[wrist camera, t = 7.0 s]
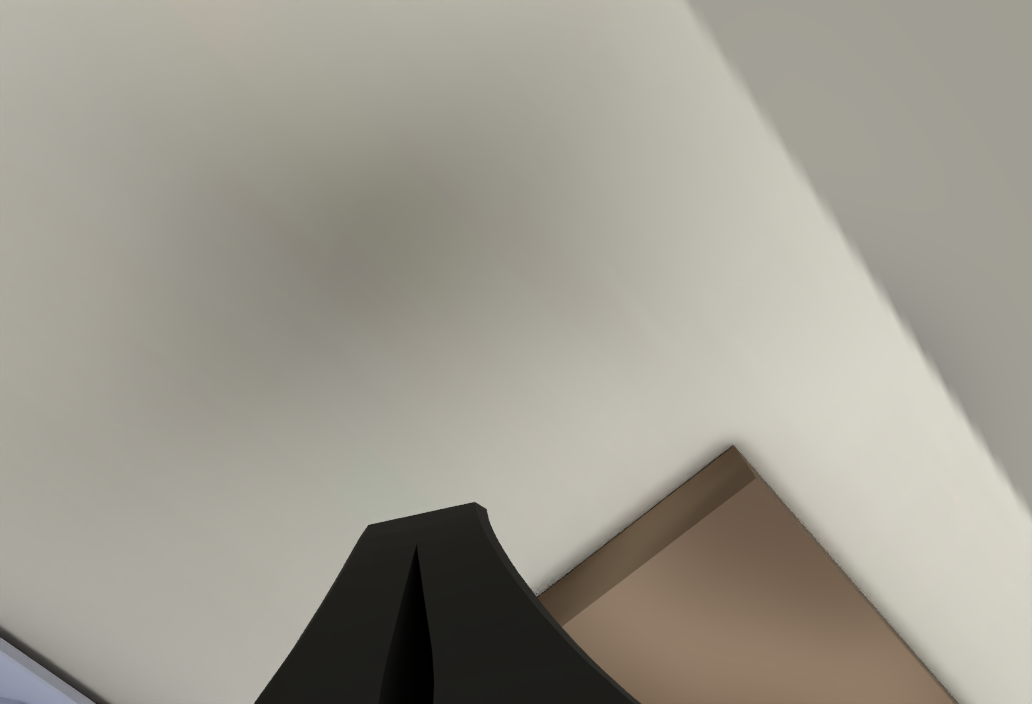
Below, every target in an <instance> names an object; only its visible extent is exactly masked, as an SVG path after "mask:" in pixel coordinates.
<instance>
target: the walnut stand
mask: <svg viewBox="0 0 1032 704" xmlns="http://www.w3.org/2000/svg"><path fill="white" fill-rule="evenodd" d="M538 599H539V601H540V602H541V603H542V605H543V606H544V607H545V608H546V609H547V611H548V612H549V613H550V614H551V615H552V617H553V618H554V619H555V620H556V621H557V622H558V623H559V625H560V626H561V627H562V628H563V629H564V630H565V631H566V632H567V633H568V634H569V636H570V637H571V638H572V639H573V640H574V641H575V642H576V643H577V644H578V645H579V646H580V647H581V648H582V649H583V650H584V652H585V653H586V654H587V655H588V656H589V657H590V658H591V659H592V660H593V661H594V662H595V663H596V664H597V665H599V666H600V667H601V668H602V669H603V670H604V671H605V672H606V673H607V674H608V675H609V676H610V677H611V678H612V679H614V680H615V681H616V682H617V683H618V684H619V685H620V686H621V687H622V688H624V689H625V690H626V691H627V692H628V693H629V694H630V695H631V696H633V697H634V698H635V699H636V700H637V701H639V702H640V703H641V704H958V702H957V701H956V700H955V699H954V698H953V697H952V696H951V694H950V693H949V692H948V691H947V690H946V689H945V688H944V686H943V685H942V684H941V683H940V682H939V681H938V679H937V678H936V677H935V676H934V675H933V674H932V673H931V671H930V670H929V669H928V668H927V667H926V666H925V665H924V663H923V662H922V661H921V660H920V659H919V658H918V656H917V655H916V654H915V653H914V652H913V651H912V650H911V648H910V647H909V646H908V645H907V644H906V643H905V642H904V640H903V639H902V638H901V637H900V636H899V635H898V634H897V632H896V631H895V630H894V629H893V628H892V627H891V625H890V624H889V623H888V622H887V621H886V620H885V619H884V617H883V616H882V615H881V614H880V613H879V612H878V611H877V609H876V608H875V607H874V606H873V605H872V604H871V603H870V601H869V600H868V599H867V598H866V597H865V596H864V594H863V593H862V592H861V591H860V590H859V589H858V588H857V586H856V585H855V584H854V583H853V582H852V581H851V580H850V578H849V577H848V576H847V575H846V574H845V573H844V571H843V570H842V569H841V568H840V567H839V566H838V565H837V563H836V562H835V561H834V560H833V559H832V558H831V557H830V555H829V554H828V553H827V552H826V551H825V550H824V549H823V547H822V546H821V545H820V544H819V543H818V542H817V540H816V539H815V538H814V537H813V536H812V535H811V534H810V532H809V531H808V530H807V529H806V528H805V527H804V526H803V524H802V523H801V522H800V521H799V520H798V519H797V518H796V516H795V515H794V514H793V513H792V512H791V511H790V509H789V508H788V507H787V506H786V505H785V504H784V503H783V501H782V500H781V499H780V498H779V497H778V496H777V495H776V493H775V492H774V491H773V490H772V489H771V488H770V486H769V485H768V484H767V483H766V482H765V481H764V480H763V478H762V477H761V476H760V475H759V474H758V473H757V472H756V470H755V469H754V468H753V467H752V466H751V465H750V464H749V462H748V461H747V460H746V459H745V458H744V457H743V455H742V454H741V453H740V452H739V451H738V450H737V449H736V447H735V446H733V447H731V448H730V449H729V450H727V451H726V452H725V453H724V454H722V455H721V456H720V457H718V458H717V459H716V460H715V461H713V462H712V463H711V464H709V465H708V466H707V467H706V468H704V469H703V470H702V471H700V472H699V473H698V474H697V475H695V476H694V477H693V478H691V479H690V480H689V481H687V482H686V483H685V484H684V485H682V486H681V487H680V488H678V489H677V490H676V491H675V492H673V493H672V494H671V495H669V496H668V497H667V498H666V499H664V500H663V501H662V502H660V503H659V504H658V505H657V506H655V507H654V508H653V509H651V510H650V511H649V512H647V513H646V514H645V515H644V516H642V517H641V518H640V519H638V520H637V521H636V522H635V523H633V524H632V525H631V526H629V527H628V528H627V529H626V530H624V531H623V532H622V533H620V534H619V535H618V536H617V537H615V538H614V539H613V540H611V541H610V542H609V543H608V544H606V545H605V546H604V547H602V548H601V549H600V550H598V551H597V552H596V553H595V554H593V555H592V556H591V557H589V558H588V559H587V560H586V561H584V562H583V563H582V564H580V565H579V566H578V567H577V568H575V569H574V570H573V571H571V572H570V573H569V574H568V575H566V576H565V577H564V578H562V579H561V580H560V581H558V582H557V583H556V584H555V585H553V586H552V587H551V588H549V589H548V590H547V591H546V592H544V593H543V594H542V595H540V596H539V597H538Z"/></svg>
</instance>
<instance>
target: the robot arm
mask: <svg viewBox="0 0 1032 704" xmlns="http://www.w3.org/2000/svg"><path fill="white" fill-rule="evenodd" d="M0 704H95V703H94V702H93V701H91V700H90V699H88V698H87V697H85V696H84V695H83V694H81V693H80V692H78V691H77V690H75V689H74V688H72V687H71V686H70V685H68V684H67V683H65V682H64V681H62V680H61V679H59V678H58V677H57V676H55V675H54V674H52V673H51V672H49V671H48V670H46V669H45V668H44V667H42V666H41V665H39V664H38V663H36V662H35V661H34V660H32V659H31V658H29V657H28V656H26V655H25V654H23V653H22V652H21V651H19V650H18V649H16V648H15V647H13V646H12V645H10V644H9V643H8V642H6V641H5V640H3V639H2V638H0ZM254 704H641V703H640V702H639V701H637V700H636V699H635V698H634V697H633V696H631V695H630V694H629V693H628V692H627V691H626V690H625V689H624V688H622V687H621V686H620V685H619V684H618V683H617V682H616V681H615V680H614V679H612V678H611V677H610V676H609V675H608V674H607V673H606V672H605V671H604V670H603V669H602V668H601V667H600V666H599V665H597V664H596V663H595V662H594V661H593V660H592V659H591V658H590V657H589V656H588V655H587V654H586V653H585V652H584V650H583V649H582V648H581V647H580V646H579V645H578V644H577V643H576V642H575V641H574V640H573V639H572V638H571V637H570V636H569V634H568V633H567V632H566V631H565V630H564V629H563V628H562V627H561V626H560V625H559V623H558V622H557V621H556V620H555V619H554V618H553V617H552V615H551V614H550V613H549V612H548V611H547V609H546V608H545V607H544V606H543V605H542V603H541V602H540V601H539V599H538V598H537V597H536V595H535V594H534V593H533V591H532V590H531V589H530V588H529V586H528V585H527V584H526V582H525V581H524V580H523V578H522V577H521V576H520V574H519V573H518V571H517V570H516V568H515V567H514V566H513V564H512V563H511V561H510V560H509V558H508V556H507V555H506V553H505V551H504V550H503V548H502V546H501V545H500V543H499V541H498V539H497V537H496V535H495V533H494V531H493V529H492V527H491V524H490V522H489V518H488V514H487V509H485V508H484V507H482V506H481V505H479V504H477V503H476V502H473V503H468V504H463V505H459V506H454V507H449V508H445V509H440V510H436V511H431V512H426V513H422V514H417V515H412V516H408V517H403V518H398V519H394V520H389V521H385V522H380V523H375V524H371V525H368V526H367V528H366V529H365V531H364V532H363V534H362V535H361V537H360V538H359V540H358V542H357V543H356V545H355V547H354V549H353V550H352V552H351V554H350V556H349V557H348V559H347V561H346V563H345V564H344V566H343V568H342V570H341V571H340V573H339V575H338V577H337V578H336V580H335V582H334V583H333V585H332V587H331V588H330V590H329V592H328V593H327V595H326V597H325V599H324V600H323V602H322V603H321V605H320V607H319V608H318V610H317V611H316V613H315V615H314V616H313V618H312V619H311V621H310V622H309V624H308V626H307V627H306V629H305V630H304V632H303V634H302V635H301V637H300V638H299V640H298V641H297V643H296V645H295V646H294V648H293V649H292V651H291V652H290V654H289V655H288V657H287V658H286V659H285V661H284V662H283V664H282V665H281V666H280V668H279V669H278V671H277V672H276V673H275V675H274V676H273V678H272V679H271V680H270V682H269V683H268V685H267V686H266V687H265V689H264V690H263V692H262V693H261V694H260V696H259V697H258V699H257V700H256V701H255V703H254Z"/></svg>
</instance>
